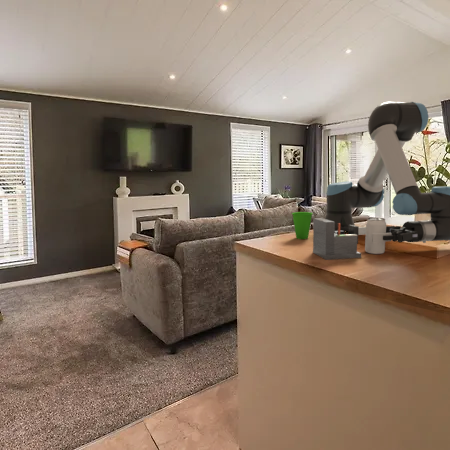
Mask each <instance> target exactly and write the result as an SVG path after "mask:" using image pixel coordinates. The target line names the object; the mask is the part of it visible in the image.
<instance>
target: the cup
mask: <svg viewBox="0 0 450 450" xmlns="http://www.w3.org/2000/svg"><path fill="white" fill-rule="evenodd" d="M291 215H292V221H293V225H294V233H295V237H296V239H298V240H307V239H309V236H310V231H311V230H310V229H311V222H312V217H313V212H309V211H297V212H292V213H291Z"/></svg>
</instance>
